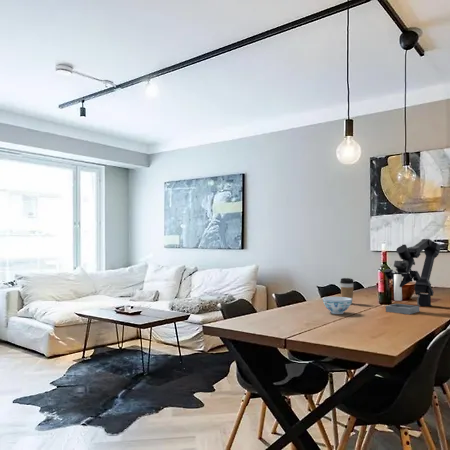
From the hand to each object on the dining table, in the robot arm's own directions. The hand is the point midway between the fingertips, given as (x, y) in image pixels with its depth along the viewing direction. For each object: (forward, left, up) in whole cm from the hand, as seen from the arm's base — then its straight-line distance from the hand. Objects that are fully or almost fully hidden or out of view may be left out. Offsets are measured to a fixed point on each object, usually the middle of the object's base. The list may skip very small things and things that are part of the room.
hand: (396, 286), depth 244 cm
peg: (-1, -1, -8) cm, 8 cm away
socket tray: (-3, +1, -13) cm, 14 cm away
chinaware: (+33, +10, -14) cm, 37 cm away
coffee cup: (+22, -27, -14) cm, 38 cm away
